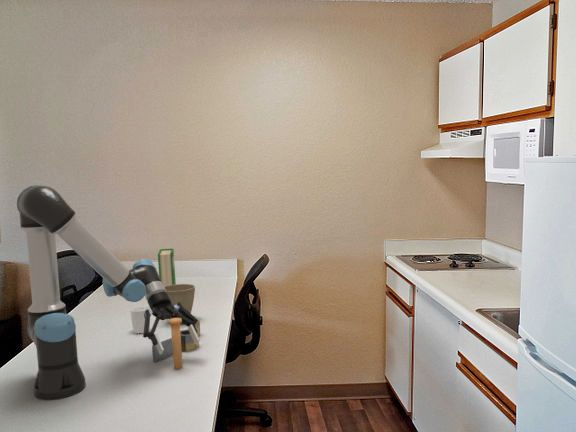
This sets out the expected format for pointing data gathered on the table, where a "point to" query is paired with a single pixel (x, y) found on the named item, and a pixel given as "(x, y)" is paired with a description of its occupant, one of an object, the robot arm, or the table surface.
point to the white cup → (138, 319)
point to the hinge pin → (176, 342)
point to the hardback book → (166, 266)
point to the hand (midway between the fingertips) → (180, 347)
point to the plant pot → (181, 295)
